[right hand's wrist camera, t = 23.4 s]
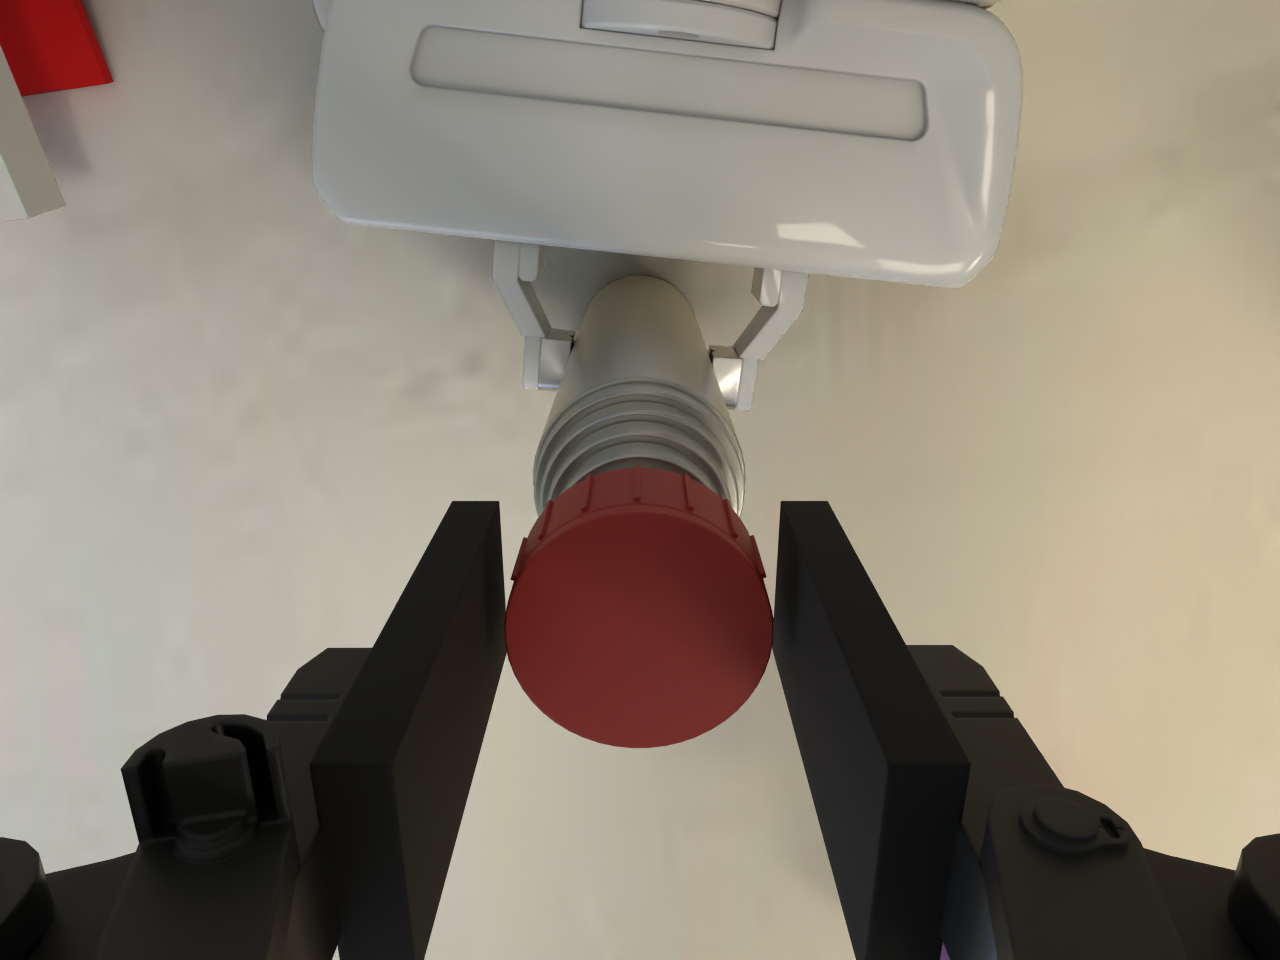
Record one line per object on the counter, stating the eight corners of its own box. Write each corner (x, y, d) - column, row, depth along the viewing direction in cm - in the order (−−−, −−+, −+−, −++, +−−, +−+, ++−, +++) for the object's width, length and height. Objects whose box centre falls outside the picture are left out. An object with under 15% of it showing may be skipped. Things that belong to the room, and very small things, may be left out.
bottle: (571, 285, 34) (460, 496, 13) (689, 266, 33) (771, 449, 13) (592, 398, 35) (523, 753, 14) (704, 381, 35) (801, 716, 14)
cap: (537, 444, 14) (522, 488, 12) (784, 488, 14) (805, 537, 12) (503, 660, 15) (486, 728, 13) (729, 696, 15) (741, 769, 14)
